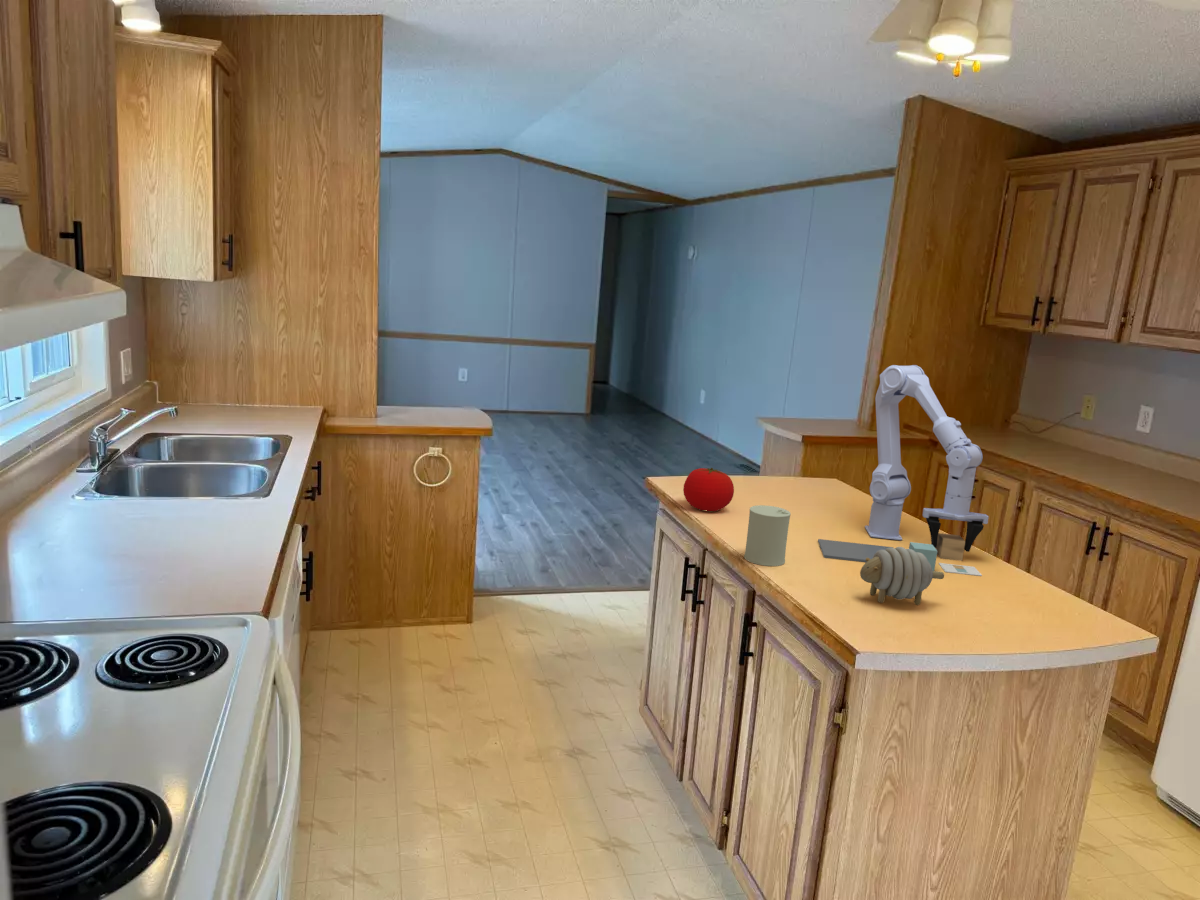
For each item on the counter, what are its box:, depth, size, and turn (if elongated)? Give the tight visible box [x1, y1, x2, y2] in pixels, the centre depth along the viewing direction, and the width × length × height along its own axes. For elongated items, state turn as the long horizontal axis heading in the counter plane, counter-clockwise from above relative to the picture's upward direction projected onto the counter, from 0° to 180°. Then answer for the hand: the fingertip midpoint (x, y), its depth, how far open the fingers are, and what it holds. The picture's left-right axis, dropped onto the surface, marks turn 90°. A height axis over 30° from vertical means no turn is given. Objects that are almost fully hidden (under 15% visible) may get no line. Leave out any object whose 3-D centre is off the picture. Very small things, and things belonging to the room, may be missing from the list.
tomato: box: [682, 467, 735, 512], centre depth 228 cm, size 13×14×12 cm
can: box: [743, 504, 791, 567], centre depth 188 cm, size 9×9×12 cm
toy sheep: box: [859, 546, 945, 606], centre depth 169 cm, size 11×17×11 cm, turn 96°
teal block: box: [908, 541, 938, 571], centre depth 192 cm, size 5×5×5 cm
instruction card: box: [938, 562, 983, 577], centre depth 192 cm, size 6×8×1 cm
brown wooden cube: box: [935, 532, 965, 562], centre depth 201 cm, size 5×5×5 cm
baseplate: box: [817, 538, 894, 563], centre depth 199 cm, size 13×18×1 cm
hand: (950, 548), depth 201 cm, fingers open, 7 cm apart
